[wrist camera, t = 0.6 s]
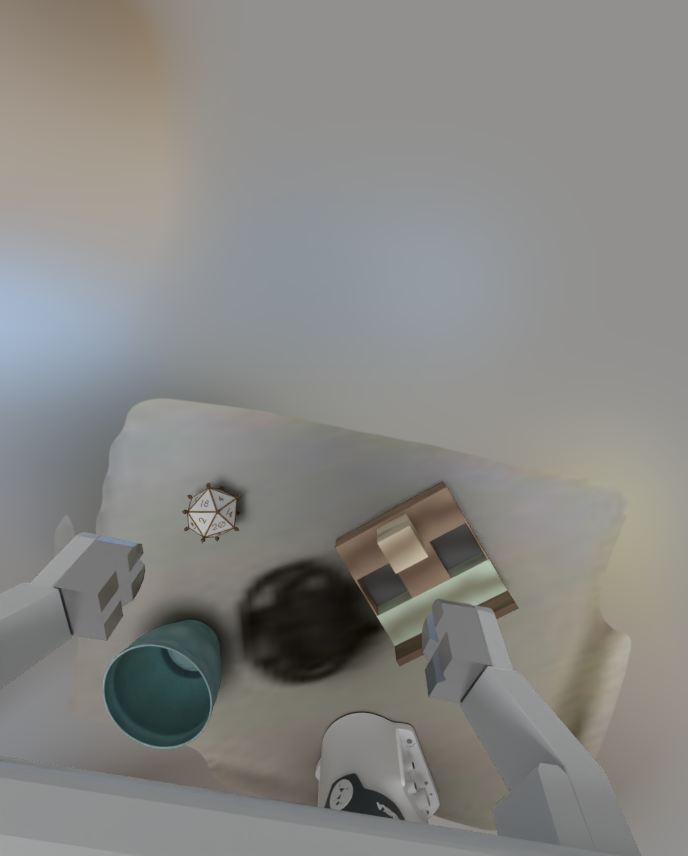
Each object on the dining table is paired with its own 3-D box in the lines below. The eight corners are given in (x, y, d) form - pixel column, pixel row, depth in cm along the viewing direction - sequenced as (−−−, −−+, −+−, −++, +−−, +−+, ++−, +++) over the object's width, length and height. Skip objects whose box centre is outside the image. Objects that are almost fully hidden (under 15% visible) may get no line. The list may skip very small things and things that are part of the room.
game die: (238, 488, 62) (252, 482, 54) (234, 540, 60) (248, 543, 52) (181, 485, 58) (186, 479, 50) (175, 541, 56) (179, 544, 48)
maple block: (423, 541, 54) (428, 557, 49) (393, 557, 55) (395, 573, 50) (406, 512, 54) (409, 525, 49) (376, 528, 54) (377, 543, 49)
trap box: (503, 585, 57) (518, 608, 51) (396, 638, 59) (399, 666, 53) (442, 481, 56) (451, 492, 50) (336, 539, 58) (332, 556, 52)
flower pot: (188, 704, 63) (151, 769, 53) (129, 633, 63) (79, 684, 52) (258, 655, 61) (234, 712, 51) (198, 581, 61) (160, 623, 50)
